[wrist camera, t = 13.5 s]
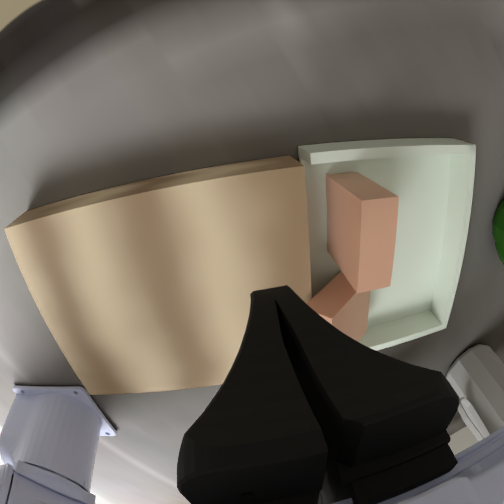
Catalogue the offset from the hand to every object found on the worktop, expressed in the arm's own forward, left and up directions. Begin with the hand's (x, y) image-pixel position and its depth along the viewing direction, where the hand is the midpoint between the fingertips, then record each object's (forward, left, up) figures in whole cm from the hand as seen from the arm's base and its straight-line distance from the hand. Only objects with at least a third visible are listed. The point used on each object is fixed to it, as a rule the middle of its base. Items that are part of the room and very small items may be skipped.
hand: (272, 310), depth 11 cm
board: (-5, -3, -9) cm, 11 cm away
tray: (+9, -3, -9) cm, 13 cm away
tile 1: (+4, -7, -7) cm, 11 cm away
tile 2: (+5, 0, -6) cm, 8 cm away
